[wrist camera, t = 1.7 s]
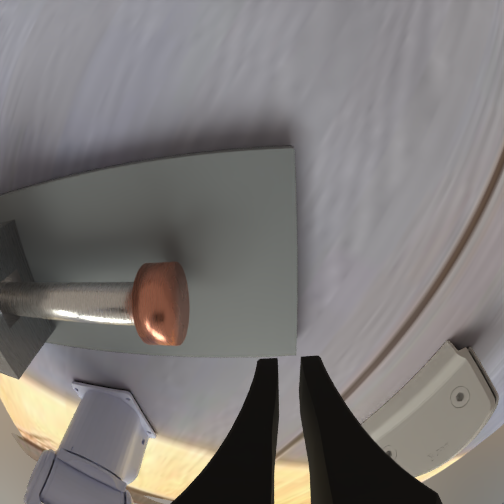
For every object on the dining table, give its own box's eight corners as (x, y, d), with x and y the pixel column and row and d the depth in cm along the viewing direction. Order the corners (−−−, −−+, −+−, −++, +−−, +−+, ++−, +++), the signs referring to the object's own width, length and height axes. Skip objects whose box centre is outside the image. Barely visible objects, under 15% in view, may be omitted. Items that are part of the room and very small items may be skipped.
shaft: (193, 312, 18) (177, 363, 14) (31, 306, 19) (2, 338, 15) (180, 247, 16) (155, 291, 12) (11, 258, 17) (-23, 287, 13)
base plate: (294, 341, 22) (296, 355, 20) (32, 329, 23) (25, 338, 22) (291, 145, 16) (294, 148, 14) (-16, 200, 17) (-27, 205, 16)
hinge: (449, 337, 21) (508, 414, 13) (464, 336, 24) (516, 402, 16) (347, 435, 28) (381, 500, 20) (371, 427, 30) (404, 486, 22)
